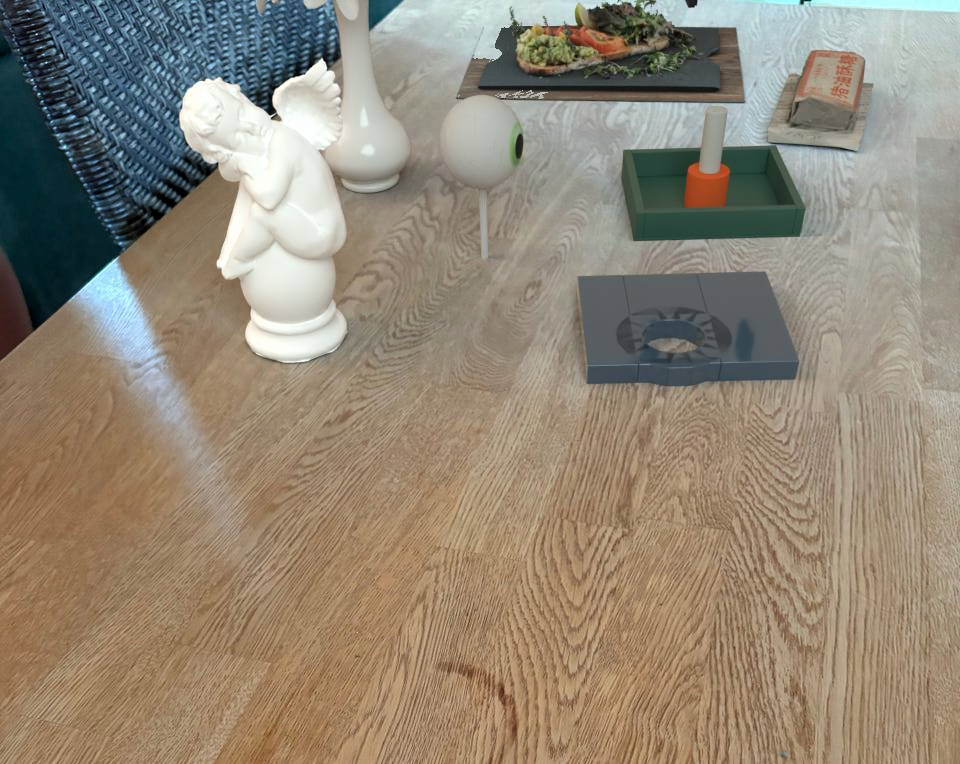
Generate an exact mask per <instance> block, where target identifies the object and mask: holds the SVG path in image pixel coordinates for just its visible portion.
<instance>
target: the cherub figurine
mask: <svg viewBox="0 0 960 764" xmlns="http://www.w3.org/2000/svg"><path fill="white" fill-rule="evenodd" d="M327 69H328V66H327V63H326V61H324V58H323V57H321V58H320V59H319V60H318V62H316V63H315V64H313V65H312V67H310V68H309V69H308V70H307V71H306V72H305V74H302V75H299V76H295V77H290V78H289V79H287V80H285V82H283V83H282V84H280V85H279V87H275V89H274V91H273V95H272V99H271V100H272V107H273V108H274V109H275V111H276V112H275V113H274V114H271V115H269V113H268V112H267V111H266V110H265V109H263V108H262V107H259V106H257V105H256V104H254V103H253V102H252V101H251V100H250V99H249V98H248V97H247V96H246V95H244V93H242V91H241V86H240V85H239V84H237V83H233V84H231V83H228V82H226V81H224V80H223V79H222V78H221V77H220V76H218V77H217V78H215V79H211V78H205V80H200V81H197V82H195V83H194V84H193V85H192V86H191V87H189V88H188V89H187V91H186V92H185V94H184V96H183V98H182V107H181V110H180V111H179V118H178V120H179V126H180V130H181V131H182V132H183V134H184V135H183V136H184V138H185V141H186V143H187V144H188V146H189V148H191V150H192V151H193V152H194V153H196V152H197V153H199V154H200V155H201V157H202V159H203V161H204V162H206V163H207V164H209V165H214V164H215V165H216V164H217V163H218V164H217V165H218V166H217V167H218V170H219V174H220V176H221V177H222V178H223V179H224V181H227V182H232V183H236V182H239V183H238V191H237V196H236V198H235V200H234V201H235V202H234V205H233V209H232V213H231V216H230V219H229V223H228V227H227V231H226V234H225V235H226V236H225V239H224V242H223V244H222V247H221V250H220V254H219V258H218V259H217V260H216V268H217V269H220V270H221V274H222V277H223V278H224V280H230V281H232V280H235V279H237V278H238V279H239V280H240V288H241V291H242V294H243V297H244V298H245V300H246V302H247V304H248V305H249V306H250V307H251V309H250V320H249V321H248V323H247V325H246V328H245V332H244V336H245V341H246V343H247V345H248V346H249V348H250V349H251V351H252V352H254V353H255V354H256V355H257V356H260V357H262V358H266V359H269V360H274V361H277V362H279V363H281V362H282V363H283V364H284V363H287V364H290V363H291V364H292V363H305V362H309V361H311V360H313V359H316V358H318V357H320V356H324V355H327V354H330V353H334V352H335V350H337V349H338V347H340V345H341V344H342V343H343V341H344V339H345V338H346V336H347V334H348V332H349V330H348V323H347V320H346V317H345V316H344V314H343V313H342V311H341V310H339V309H338V308H337V304H336V301H335V299H334V298H333V297H334V295H335V291H336V283H337V272H336V267H335V261H334V259H333V256H332V255H335V254H336V253H337V252H339V251H340V250H341V249H342V248H343V246H344V245H345V242H346V240H347V232H348V231H347V230H348V229H347V223H346V219H345V216H344V211H343V209H342V204H341V200H340V195H339V193H338V190H337V186H336V183H335V179H334V175H333V172H332V171H331V169H330V168H329V166H328V164H327V162H326V160H325V159H324V157H323V155H322V152H321V151H322V150H326V148H327V147H329V146H332V143H333V142H337V141H338V139H339V138H340V137H341V135H342V131H341V130H342V129H343V124H342V122H343V117H342V115H341V114H340V113H341V109H340V104H341V102H342V101H341V100H342V98H341V97H340V95H341V91H342V90H341V88H340V86H339V85H338V83H337V82H336V83H335V82H334V81H335V79H336V74H335V71H333V70H327ZM275 115H277V116H279V117H280V121H279V120H275V119H272V117H274V116H275Z"/></svg>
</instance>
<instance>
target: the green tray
mask: <svg viewBox="0 0 960 764" xmlns="http://www.w3.org/2000/svg"><path fill="white" fill-rule="evenodd" d="M700 153H701V146H700V147H669V148H667V147H666V148H634V149H623V150H622V163H621V177H620V179H621V184H622V189H623V194H624V198H625V204H626V208H627V209H626V210H627V214H628V218H629V225H630V228H631V234H632V237H633V242H656V241H657V242H660V241H661V242H662V241H696V240H731V239H734V240H735V239H766V238H767V239H768V238H771V239H772V238H773V239H774V238H800V237H801V234H802V228H803V223H804V220H805V219H804V218H805V215H806V214H805V213H806V209H807V208H806V205H805V204H804V201H803V199H802V198H801V195H800V193H799V191H798V189H797V187H796V184H795V182H794V181H793V178H792V176H791V174H790V171H789V169H788V168H787V165H786V164H785V161H784V159H783V156H782V155H781V153H780V150H779V149H778V147H777V145H776V144H771V145H769V144H768V145H739V146H737V145H736V146H723V149H722V156H721V163H720V164H723V165H725V166H727V167H728V168H729V170H730V175H729V182H728V188H727V195H726V202H725V207H697V208H685V207H684V199H685V191H686V182H687V173H688V168H689V167H690V166H691V165H693V164H695V163H699V161H700Z"/></svg>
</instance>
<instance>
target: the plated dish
mask: <svg viewBox="0 0 960 764" xmlns="http://www.w3.org/2000/svg"><path fill="white" fill-rule="evenodd" d="M620 2H621V3H620ZM633 2H634V3H635V6H634V5H633V4H632V2H631V1H630V2H629V1H623V0H617V2H616V3H615V2H614V3H612V4H610V3H609V2H608V1H605V2H603V1H602V2H600V3H601V4H600V5H601V6H599V5H598V4H597V5H596V6H595V7H593V8H590V7H589V8H588V9H587V8H585V7H584V5H583V4H582V2H581V1H578V3H577V4H576V6H575V8H574V19H575V23H576V25H570V24H568V23H566V21H563V25H562V24H561V25H562V26H561V25H560V26H548V25H549V24H548V19H547V17H546V16H545V15H542V19H543V20H544V22H543V24H544V25H547V26H541V25H542V24H540V23H534V24H533V25H534V26H522V25H523V22H520V23H519V21H517V19H515V18H516V16H515V12H514V11H515V9H514V8H513V7H512V6H509V8H508V10H509V14H510V18H509V20H510V21H512V22H511V24H510V25H511V26H510V27H509V28H505V27H504V28H501V31H500V33H499V36H498V38H497V40H496V43H495V48H496V49H499V50H500V51H501V52H502V55H501V56H500V57H499V58H498V59H496V60H494V59H491V60H490V59H486V58H483V59H478V58H476V59H474V58H472V57H471V59H470V61H469V64H468V66H467V69H466V72H465V74H464V77H463V79H462V82H461V83H460V84H461V85H460V86H459V89H458V92H457V95H456V97H455V99H462V100H464V99H465V98H468V97H472V96H476V95H488V96H492V97H495V98H497V99H499V100H502V99H501V96H499V95H500V94H505V93H509V94H508V95H506V99H505V98H504V99H503V100H539V99H538V98H539V96H540V95H539V96H535V97H532V98H530V96H531V95H534V94H537V93H540V92H548V93H545V94H542V95H543V97H544V98H543V99H542V100H549V101H550V100H552V101H553V100H554V101H555V100H557V101H559V100H560V101H624V102H625V101H627V102H628V101H631V102H632V101H633V102H636V101H637V102H644V101H645V102H698V103H699V102H700V103H701V102H703V103H708V102H711V103H712V102H713V103H714V102H716V103H745V102H746V100H745V91H744V82H743V74H742V67H741V66H742V65H741V64H742V63H741V57H740V49H739V41H738V40H739V39H738V32H737V27H736V26H735V27H729V26H728V27H725V26H724V27H723V26H720V27H719V26H676V25H675V24H673V21H672V20H670V21H667V19H666V18H665V16H664V14H663V13H660V14H659V12H658V8H657V9H656V10H655V13H652V14H651V11H652V8H653V6H655V4H657V2H658V1H657V0H634V1H633ZM618 3H620V4H618ZM649 5H650V9H651V10H648V11H647V12H646V11H645V10H646V7H648V6H649ZM642 6H643V7H642ZM517 25H518V26H517ZM519 25H521V26H519ZM492 60H494V61H492ZM489 61H490V62H489ZM522 90H523V91H522ZM530 90H532V92H534V93H533V94H530V95H529V97H527V98H525V99H524V98H520V96H526V95H527V94H529V93H531V92H528V91H530ZM519 91H521V92H520V93H524V94H520V93H519V94H520V95H518V94H517V95H516V96H518V98H515V99H514V98H513V97H514V96H515V95H512V94H514V93H516V92H519ZM526 92H528V93H526ZM498 93H499V94H498ZM497 94H498V95H497ZM458 95H460V96H459V98H457V96H458ZM495 95H497V96H499V97H497V96H495ZM509 95H511V96H509Z"/></svg>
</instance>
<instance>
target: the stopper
mask: <svg viewBox="0 0 960 764" xmlns="http://www.w3.org/2000/svg"><path fill="white" fill-rule="evenodd" d="M704 113H705V114H704V120H703V121H704V122H703V128H702V129H703V130H702V136H701V137H702V139H701V145H700V147H701V153H700V161H699V163H695V164H693V165H691V166H690V167H689V168H688V173H687V182H686V191H685V199H684V207H685V208H697V207H725V202H726V195H727V188H728V182H729V175H730V170H729V168H728V167H727V166H725V165H723V164H720V163H721V156H722V149H723V147H724V142H725V141H724V140H725V134H726V127H727V118H728V113H729V110H728V108H727V107H725V106H722V105H711V106H708V107H706V109H705V112H704Z"/></svg>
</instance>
